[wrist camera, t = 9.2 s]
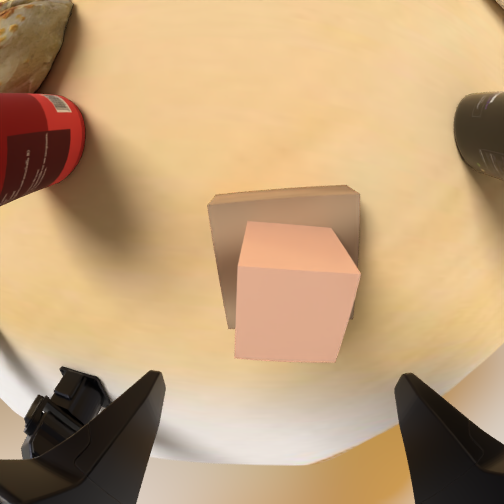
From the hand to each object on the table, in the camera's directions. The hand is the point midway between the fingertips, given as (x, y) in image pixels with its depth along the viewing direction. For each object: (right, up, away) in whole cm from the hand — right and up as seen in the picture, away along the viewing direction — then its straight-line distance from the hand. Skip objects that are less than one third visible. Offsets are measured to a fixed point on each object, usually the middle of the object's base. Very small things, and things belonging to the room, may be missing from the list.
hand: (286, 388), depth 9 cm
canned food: (-18, +14, +8) cm, 24 cm away
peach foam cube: (+1, +4, +8) cm, 9 cm away
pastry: (-23, +23, +5) cm, 33 cm away
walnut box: (+1, +5, +12) cm, 13 cm away
